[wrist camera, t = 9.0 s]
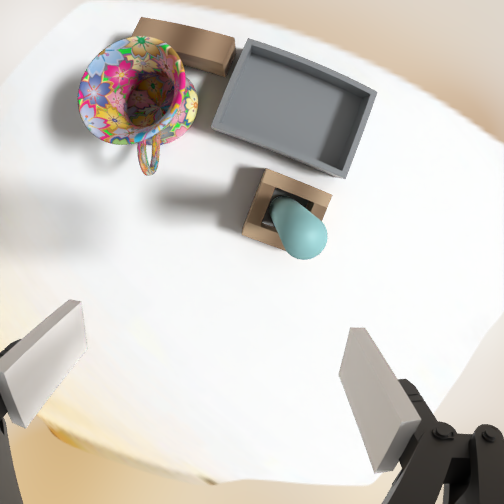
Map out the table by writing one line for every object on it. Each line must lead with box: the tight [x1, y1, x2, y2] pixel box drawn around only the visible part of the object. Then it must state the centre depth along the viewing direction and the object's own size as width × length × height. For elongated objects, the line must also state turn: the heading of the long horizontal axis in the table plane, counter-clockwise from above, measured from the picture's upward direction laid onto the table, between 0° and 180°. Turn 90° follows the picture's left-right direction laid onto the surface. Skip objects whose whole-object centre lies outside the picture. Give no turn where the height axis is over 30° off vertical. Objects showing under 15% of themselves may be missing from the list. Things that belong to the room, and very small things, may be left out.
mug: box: [78, 36, 198, 176], centre depth 27 cm, size 12×9×11 cm
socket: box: [242, 168, 332, 251], centre depth 33 cm, size 7×7×3 cm
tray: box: [211, 38, 377, 179], centre depth 30 cm, size 14×10×4 cm
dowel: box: [269, 196, 327, 260], centre depth 29 cm, size 3×3×13 cm
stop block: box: [131, 17, 236, 77], centre depth 28 cm, size 10×3×5 cm, turn 69°
